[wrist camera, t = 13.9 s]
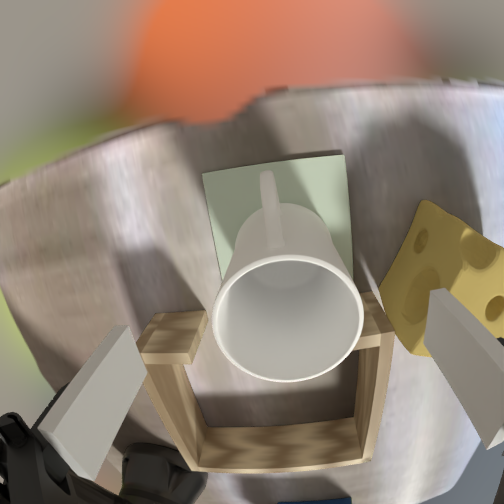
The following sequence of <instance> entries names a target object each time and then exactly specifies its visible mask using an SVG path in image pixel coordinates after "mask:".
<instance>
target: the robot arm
mask: <svg viewBox="0 0 504 504" xmlns="http://www.w3.org/2000/svg"><path fill="white" fill-rule="evenodd" d="M423 344H424V345H425V347H426V348H427V350H428V351H429V353H430V354H431V356H432V358H433V359H434V361H435V362H436V364H437V365H438V367H439V368H440V370H441V372H442V373H443V375H444V376H445V378H446V379H447V381H448V383H449V384H450V386H451V388H452V389H453V391H454V393H455V394H456V396H457V398H458V399H459V401H460V403H461V404H462V406H463V408H464V410H465V411H466V413H467V415H468V416H469V418H470V420H471V422H472V424H473V425H474V427H475V429H476V431H477V433H478V435H479V436H480V438H481V440H482V442H483V444H484V446H485V448H486V449H489V448H491V447H493V446H495V445H497V444H499V443H501V442H503V440H504V338H502V337H499V338H495V337H494V336H493V335H492V334H491V333H490V332H489V331H488V329H487V328H486V327H485V326H484V325H483V324H482V323H481V322H480V321H479V320H478V319H477V318H476V317H475V316H474V315H473V314H472V313H471V312H470V311H469V310H468V309H467V308H466V307H465V306H464V305H462V304H461V303H460V302H459V301H458V300H457V299H456V298H455V297H454V296H453V295H452V294H451V293H450V292H449V291H448V290H447V289H446V288H441V289H436V290H431V291H430V298H429V306H428V315H427V322H426V329H425V335H424V341H423ZM147 373H148V372H147V370H146V368H145V365H144V363H143V361H142V358H141V356H140V353H139V351H138V348H137V346H136V343H135V341H134V338H133V336H132V333H131V330H130V328H129V325H122V326H114V327H113V329H112V330H111V331H110V332H109V334H108V335H107V336H106V337H105V339H104V340H103V341H102V342H101V344H100V345H99V346H98V347H97V349H96V350H95V351H94V352H93V354H92V355H91V356H90V357H89V359H88V360H87V361H86V363H85V364H84V365H83V367H82V368H81V369H80V370H79V372H78V373H77V374H76V376H75V377H74V378H73V380H72V381H71V382H70V383H68V384H66V385H65V386H64V387H62V388H61V389H60V390H59V391H58V392H57V394H56V395H55V396H54V398H53V400H51V402H50V403H49V405H48V407H46V408H45V410H44V412H43V413H42V414H41V415H40V417H39V418H38V419H37V421H36V422H35V424H34V425H33V426H32V428H31V429H29V428H28V426H27V425H26V423H25V422H24V421H23V419H22V418H21V416H20V415H19V414H17V413H14V412H10V413H6V414H4V415H3V416H1V417H0V437H1V438H0V476H1V477H2V478H3V479H4V482H3V484H2V483H0V504H194V503H195V502H196V500H197V499H198V497H199V496H200V494H201V493H202V492H203V490H204V489H205V487H206V483H207V478H208V473H207V472H200V471H191V469H190V467H189V466H188V464H187V463H186V461H185V460H184V458H183V456H182V455H181V453H180V452H178V451H175V450H172V449H169V448H166V447H163V446H158V445H153V444H145V443H138V444H133V445H130V446H129V447H127V449H126V451H125V454H124V456H123V459H122V488H121V490H120V493H119V495H116V494H114V493H112V492H110V491H109V490H107V489H105V488H103V487H101V486H99V485H98V484H96V483H94V482H93V481H95V478H96V476H97V474H98V472H99V470H100V468H101V466H102V464H103V461H104V459H105V457H106V455H107V453H108V451H109V449H110V447H111V445H112V443H113V441H114V439H115V436H116V434H117V432H118V430H119V428H120V426H121V424H122V422H123V420H124V418H125V416H126V414H127V412H128V410H129V408H130V406H131V404H132V402H133V400H134V398H135V396H136V394H137V392H138V390H139V388H140V386H141V385H142V383H143V381H144V379H145V377H146V375H147ZM502 456H504V451H503V454H502ZM91 480H93V481H91ZM493 504H504V470H503V474H502V478H501V481H500V484H499V487H498V491H497V494H496V496H495V499H494V503H493Z"/></svg>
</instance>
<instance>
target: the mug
mask: <svg viewBox="0 0 504 504" xmlns="http://www.w3.org/2000/svg"><path fill="white" fill-rule="evenodd" d="M260 191H261V200H262V207H263V208H261V209H259V210H257V211H256V212H254V213H253V214H252V215H251V216H250V217H248V219H247V220H246V221H245V222H244V223H243V225H242V226H241V228H240V230H239V232H238V235H237V238H236V242H235V250H234V253H233V255H232V258H231V260H230V263H229V265H228V268H227V271H226V273H225V276H224V278H223V281H222V283H221V286H220V289H219V291H218V294H217V296H216V299H215V302H214V306H213V311H212V329H213V333H214V337H215V339H216V342H217V344H218V346H219V348H220V349H221V351H222V352H223V354H224V355H225V356H226V357H227V358H228V359H229V360H230V361H231V362H232V363H233V364H234V365H235V366H237V367H238V368H239V369H241V370H243V371H244V372H246V373H248V374H250V375H252V376H255V377H258V378H261V379H264V380H269V381H275V382H296V381H303V380H307V379H311V378H314V377H317V376H319V375H322V374H324V373H326V372H328V371H329V370H331V369H333V368H334V367H336V366H337V365H338V364H340V363H341V362H342V361H343V360H344V359H345V358H346V357H347V356H348V355H349V354H350V352H351V351H352V350H353V348H354V347H355V345H356V343H357V341H358V339H359V337H360V335H361V331H362V328H363V321H364V310H363V304H362V300H361V297H360V294H359V292H358V290H357V288H356V286H355V284H354V282H353V280H352V278H351V276H350V274H349V272H348V270H347V269H346V267H345V265H344V263H343V261H342V259H341V257H340V256H339V254H338V252H337V250H336V248H335V247H334V245H333V243H332V238H331V235H330V232H329V230H328V228H327V226H326V225H325V223H324V222H323V221H322V220H321V218H320V217H319V216H318V215H316V214H315V213H314V212H312V211H311V210H309V209H307V208H305V207H303V206H300V205H297V204H292V203H279V197H278V192H277V187H276V182H275V177H274V174H273V172H272V171H271V170H266V171H263V172H261V173H260Z"/></svg>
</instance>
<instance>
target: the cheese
mask: <svg viewBox="0 0 504 504" xmlns="http://www.w3.org/2000/svg"><path fill="white" fill-rule="evenodd" d="M441 288H446V289H447V290H448V291H449V292H450V293H451V294H452V295H453V296H454V297H455V298H456V299H457V300H458V301H459V302H460V303H461V304H462V305H464V306H465V307H466V308H467V309H468V310H469V311H470V312H471V313H472V314H473V315H474V316H475V317H476V318H477V319H478V320H479V321H480V322H481V323H482V324H483V325H484V326H485V327H486V328H487V329H488V331H489V332H490V333H491V334H492V335H493V336H494V337H495V338H499V337H502V338H504V248H503V247H501V246H499V245H497V244H495V243H494V242H492V241H490V240H488V239H487V238H485V237H484V236H482V235H481V234H479V233H478V232H477V231H475V230H474V229H472V228H471V227H470V226H469V225H467V224H466V223H465V222H463V221H462V220H461V219H459V218H457V217H456V216H454V215H451V214H448V213H447V212H445V211H444V210H443V209H441V208H440V207H439V206H437V205H436V204H434V203H433V202H431V201H428V200H422V201H421V202H420V204H419V206H418V208H417V211H416V214H415V216H414V219H413V222H412V225H411V227H410V230H409V232H408V234H407V236H406V238H405V240H404V242H403V244H402V246H401V248H400V250H399V252H398V254H397V256H396V258H395V260H394V262H393V263H392V265H391V267H390V269H389V271H388V273H387V274H386V276H385V278H384V279H383V281H382V283H381V285H380V287H379V289H378V290H379V292H380V296H381V300H382V303H383V307H384V310H385V313H386V315H387V318H388V319H389V321H390V323H391V325H392V326H393V328H394V330H395V334H396V336H397V337H398V339H399V340H400V341H401V343H402V344H403V345H404V347H405V348H406V349H407V350H408V351H409V353H411V354H413V355H419V356H426V357H432V356H431V354H430V353H429V351H428V350H427V348H426V347H425V345H424V344H423V341H424V335H425V329H426V322H427V315H428V306H429V298H430V291H431V290H436V289H441Z"/></svg>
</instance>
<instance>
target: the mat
mask: <svg viewBox="0 0 504 504" xmlns="http://www.w3.org/2000/svg"><path fill="white" fill-rule="evenodd" d="M266 170H271V171H272V172H273V174H274V177H275V182H276V187H277V192H278V197H279V203H292V204H297V205H300V206H303V207H305V208H307V209H309V210H311V211H312V212H314V213H315V214H316V215H318V216H319V217H320V218H321V220H322V221H323V222H324V223H325V225H326V226H327V228H328V230H329V232H330V235H331V238H332V243H333V245H334V247H335V248H336V250H337V252H338V254H339V256H340V257H341V259H342V261H343V263H344V265H345V267H346V269H347V270H348V272H349V274H350V276H351V278H352V280H353V255H352V234H351V219H350V205H349V194H348V183H347V173H346V164H345V156H344V155H333V156H323V157H313V158H303V159H295V160H287V161H279V162H271V163H264V164H257V165H250V166H243V167H237V168H231V169H225V170H219V171H213V172H207V173H202V178H203V184H204V189H205V195H206V200H207V205H208V211H209V216H210V221H211V226H212V232H213V237H214V242H215V247H216V252H217V257H218V262H219V267H220V272H221V276H222V281H223V278H224V276H225V273H226V271H227V268H228V265H229V263H230V260H231V258H232V255H233V253H234V250H235V242H236V238H237V235H238V232H239V230H240V228H241V226H242V225H243V223H244V222H245V221H246V220H247V219H248V217H250V216H251V215H252V214H253V213H254V212H256V211H257V210H259V209H261V208H263V207H262V200H261V191H260V173H261V172H263V171H266Z"/></svg>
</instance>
